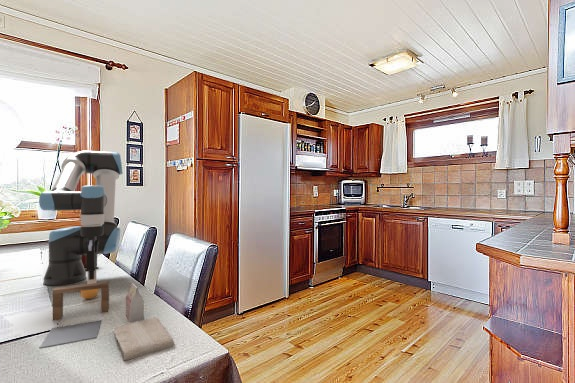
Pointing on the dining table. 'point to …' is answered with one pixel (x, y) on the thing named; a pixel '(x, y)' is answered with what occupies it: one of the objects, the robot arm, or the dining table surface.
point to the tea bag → (134, 305)
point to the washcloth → (142, 338)
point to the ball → (89, 293)
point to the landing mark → (71, 333)
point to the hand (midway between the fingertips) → (91, 287)
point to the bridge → (60, 290)
